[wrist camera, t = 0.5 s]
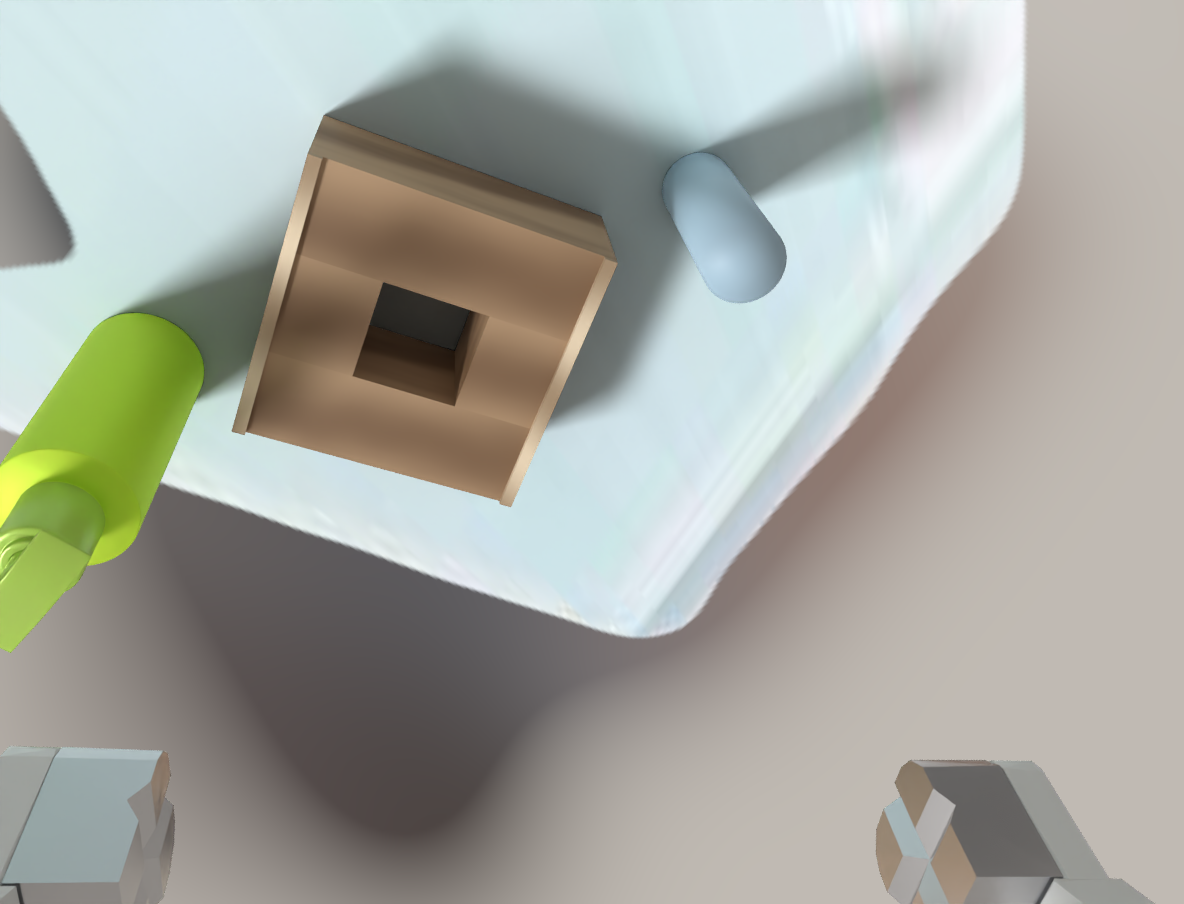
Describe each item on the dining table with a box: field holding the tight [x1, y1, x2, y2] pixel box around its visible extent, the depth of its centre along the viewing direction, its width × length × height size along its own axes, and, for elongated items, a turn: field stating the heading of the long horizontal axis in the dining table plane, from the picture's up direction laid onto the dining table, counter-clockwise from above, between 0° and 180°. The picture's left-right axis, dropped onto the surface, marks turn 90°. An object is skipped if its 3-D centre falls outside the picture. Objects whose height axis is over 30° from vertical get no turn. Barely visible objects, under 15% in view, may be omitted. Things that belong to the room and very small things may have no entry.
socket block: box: [232, 115, 618, 507], centre depth 51 cm, size 14×14×6 cm
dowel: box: [662, 152, 787, 303], centre depth 48 cm, size 4×4×10 cm
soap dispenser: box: [0, 313, 204, 653], centre depth 45 cm, size 6×7×20 cm
